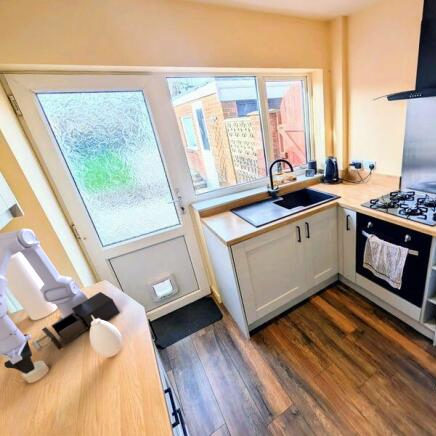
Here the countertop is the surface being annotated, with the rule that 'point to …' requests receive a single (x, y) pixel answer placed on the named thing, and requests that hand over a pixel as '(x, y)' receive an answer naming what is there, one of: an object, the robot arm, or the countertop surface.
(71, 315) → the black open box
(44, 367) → the grey short cylinder
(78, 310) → the black drawer box
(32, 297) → the cylinder container
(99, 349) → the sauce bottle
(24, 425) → the countertop surface
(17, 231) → the robot arm
